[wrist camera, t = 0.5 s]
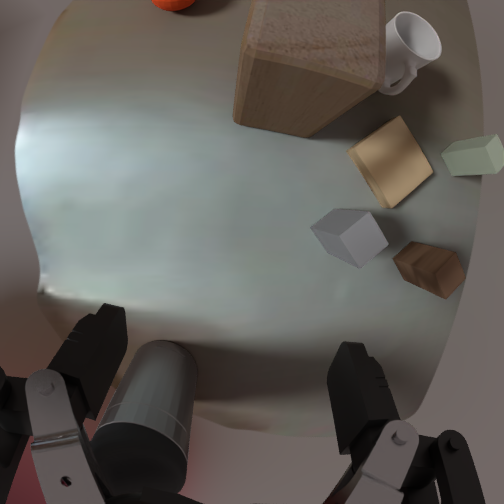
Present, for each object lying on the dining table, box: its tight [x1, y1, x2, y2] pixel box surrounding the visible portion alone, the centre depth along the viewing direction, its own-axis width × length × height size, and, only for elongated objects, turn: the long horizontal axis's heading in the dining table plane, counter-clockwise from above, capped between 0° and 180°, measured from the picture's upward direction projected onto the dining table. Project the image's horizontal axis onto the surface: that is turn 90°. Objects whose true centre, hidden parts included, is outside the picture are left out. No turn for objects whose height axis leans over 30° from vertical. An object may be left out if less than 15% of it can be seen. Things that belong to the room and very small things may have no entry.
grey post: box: [310, 209, 389, 269], centre depth 33 cm, size 4×4×10 cm
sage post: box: [441, 134, 504, 176], centre depth 33 cm, size 4×4×10 cm
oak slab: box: [346, 116, 433, 208], centre depth 36 cm, size 9×9×3 cm
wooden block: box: [233, 0, 386, 138], centre depth 25 cm, size 10×10×20 cm
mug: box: [379, 12, 442, 95], centre depth 29 cm, size 10×7×12 cm, turn 168°
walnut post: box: [392, 241, 466, 299], centre depth 35 cm, size 4×4×10 cm
